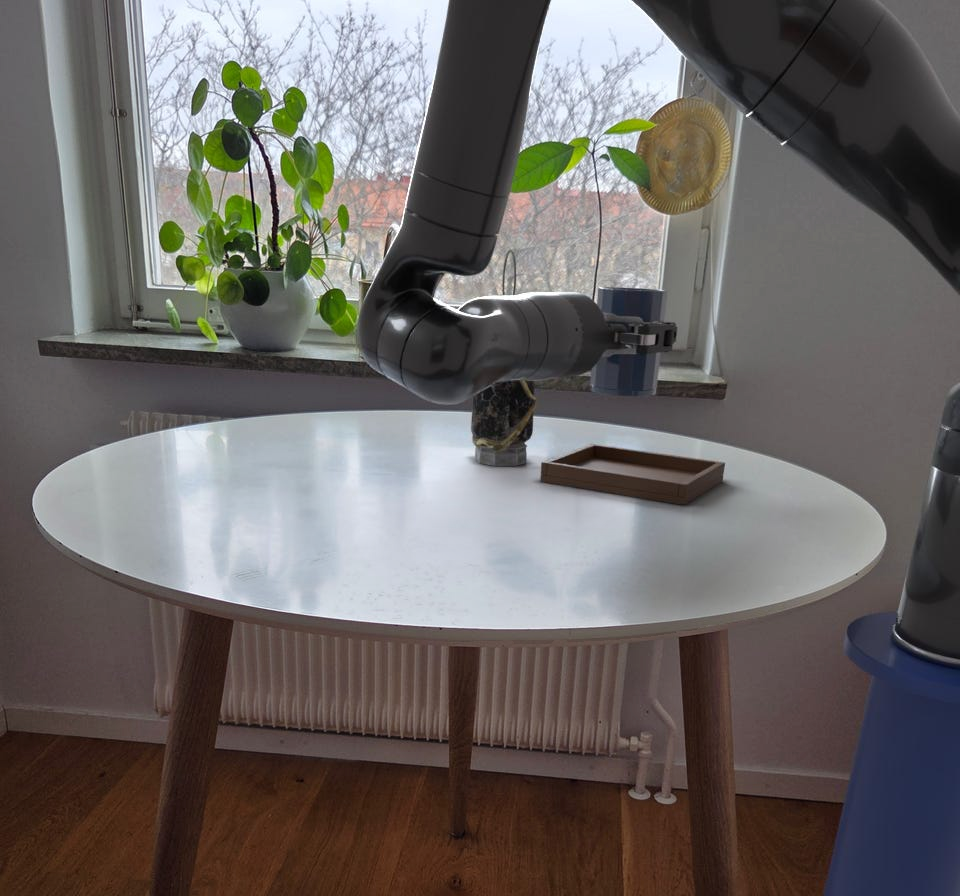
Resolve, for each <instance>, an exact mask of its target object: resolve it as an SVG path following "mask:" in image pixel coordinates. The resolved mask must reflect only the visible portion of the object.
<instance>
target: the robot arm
mask: <svg viewBox="0 0 960 896" xmlns="http://www.w3.org/2000/svg"><path fill="white" fill-rule="evenodd" d="M629 1H630V2H631V3H633V4H634V5H635V6H636V7H637V8H638V9H639V10H641V12H643V14H645V15H646V16H647V18H648V19H649V20H650V21H651V22H652V23H653V24H654V25H655V27H656V28H658V29H659V30H660V32H661V33H662V34H663V35H664V36H665V37H666V38H667V39H668V41H669V42H670V43H671V44H672V45H673V46H674V47H675V48H676V50H677V51H678V52H679V53H680V54H681V55H682V56H683V57H684V59H686V60H687V61H688V62H689V63H690V64H691V65H692V67H693V68H695V70H696V71H698V73H699V74H700V75H701V76H702V77H703V78H704V79H705V80H706V81H707V82H708V83H709V84H710V85H711V86H712V87H714V89H716V91H718V92H719V94H721V95H722V96H723V97H724V98H725V99H726V100H727V101H728V102H729V103H730V104H731V105H733V107H735V108H736V109H737V110H738V111H739V112H740V113H741V114H742V115H745V117H746V118H748V119H749V120H750V121H751V122H752V123H753V124H754V125H756V126H757V127H758V128H759V129H760V130H762V131H763V132H764V133H766V134H767V135H768V136H769V137H770V138H772V139H773V140H774V141H775V142H776V143H777V144H780V146H781V147H782V148H783V149H785V150H787V151H788V153H791V154H792V155H793V156H794V157H796V158H797V159H799V160H800V161H802V162H803V163H804V164H805V165H807V166H808V167H810V168H811V169H812V170H814V171H815V172H816V173H817V174H819V175H820V176H821V177H823V178H824V179H825V180H827V181H828V182H829V183H831V184H832V185H833V186H835V187H836V188H838V189H839V190H840V191H842V192H843V193H844V194H846V195H848V196H849V197H851V198H852V199H854V200H855V201H856V202H858V203H859V204H861V205H863V207H865V208H867V209H868V210H870V211H871V212H873V213H874V214H876V215H877V216H879V217H880V218H881V219H882V220H884V221H885V222H886V223H888V224H889V225H890V226H891V227H893V228H894V229H895V230H896V231H897V232H898V233H899V234H900V235H901V236H902V237H903V238H904V239H905V240H906V241H908V243H910V244H911V246H912V247H913V248H914V249H915V250H916V252H918V253H919V254H920V255H921V256H922V257H923V258H924V259H925V260H926V262H928V263H929V264H930V266H931V267H932V268H933V269H934V270H935V271H936V272H937V273H938V274H939V275H940V277H942V278H943V280H944V281H945V282H946V283H947V284H948V285H949V286H950V287H951V289H953V290H954V291H955V292H956V293H957V294H958V296H959V297H960V114H959V113H958V112H957V110H956V108H955V107H954V105H953V103H952V102H951V99H950V98H949V96H948V94H947V93H946V91H945V89H944V87H943V85H942V83H941V81H940V79H939V78H938V75H937V74H936V72H935V70H934V68H933V67H932V65H931V63H930V62H929V60H928V58H927V56H926V55H925V53H924V52H923V50H922V48H921V47H920V45H919V44H918V42H917V40H916V39H915V37H914V36H913V35H912V34H911V33H910V31H909V29H907V27H906V26H905V25H904V24H903V23H902V22H901V21H900V20H899V19H898V18H897V17H896V16H895V14H894V13H893V12H892V11H890V9H888V8H887V7H886V6H885V5H884V4H883V3H882V2H881V1H880V0H629ZM551 3H552V0H448V4H447V11H446V17H445V22H444V28H443V33H442V39H441V43H440V48H439V53H438V58H437V63H436V67H435V72H434V76H433V80H432V85H431V90H430V94H429V98H428V103H427V107H426V110H425V111H426V112H425V116H424V119H423V123H422V127H421V132H420V136H419V141H418V145H417V150H416V155H415V159H414V163H413V168H412V172H411V176H410V177H411V178H410V182H409V186H408V191H407V195H406V199H405V206H404V209H403V214H402V219H401V224H400V226H399V229H398V230H397V233H396V235H395V236H394V239H393V241H392V242H391V244H390V245H389V248H388V250H387V252H386V255H385V256H384V258H383V261H382V263H381V265H380V267H379V269H378V271H377V273H376V275H375V277H374V278H373V281H372V282H371V285H370V287H369V289H368V291H367V292H366V295H365V297H364V299H363V302H362V304H361V307H360V310H359V313H358V318H357V328H356V329H357V333H356V335H357V342H358V348H359V351H360V354H361V356H362V358H363V360H364V361H365V363H366V364H367V365H369V366H370V368H371V369H373V370H374V371H376V372H377V373H380V374H381V375H383V376H384V377H386V378H388V379H389V380H391V381H393V382H394V383H396V384H398V385H399V386H401V387H403V388H405V389H406V390H408V391H409V392H411V393H412V394H414V395H416V396H417V397H419V398H420V399H423V400H425V401H427V402H430V403H433V404H438V405H457V404H461V403H464V402H467V401H468V400H470V399H471V398H472V399H473V396H475V395H477V394H478V393H480V392H482V391H483V390H485V389H487V388H489V387H490V386H492V385H493V384H495V383H499V382H507V381H515V380H524V381H534V382H540V381H546V380H547V381H548V380H555V379H561V378H572V377H579V376H581V375H583V374H586V373H588V372H589V371H591V369H592V368H593V367H594V366H595V365H596V364H597V362H598V361H599V359H600V358H601V357H610V356H612V355H613V354H637V353H639V355H645V354H650V353H659V352H661V353H669V352H672V351H673V345H674V343H676V342H677V338H678V337H677V335H678V326H677V324H676V322H674V321H664V322H658V321H653V322H643V321H642V319H641V318H640V317H635V316H616V315H615V314H612V313H602V312H601V310H600V308H599V307H598V305H597V302H595V301H594V300H593V298H591V297H590V296H589V295H586V294H584V293H582V292H577V291H548V292H545V291H543V292H542V291H541V292H539V291H538V292H537V291H536V292H525V293H520V294H515V296H513V295H505V296H503V295H486V296H481V297H475V298H473V299H470V300H467V301H466V302H465V303H463V304H462V305H461V306H460V307H459V308H458V309H456V308H455V307H452V306H450V305H448V304H446V303H444V302H442V301H441V300H438V299H437V298H435V294H436V292H437V291H436V290H437V288H438V286H439V285H440V283H441V281H442V279H443V278H444V277H445V275H446V274H447V275H451V276H461V277H472V276H473V277H474V276H477V275H480V274H481V273H483V272H484V271H485V270H486V269H487V267H488V266H489V265H490V262H491V261H492V257H493V256H494V252H495V249H496V245H497V242H498V238H499V233H500V231H501V227H502V223H503V220H504V216H505V212H506V208H507V205H508V201H509V198H510V197H509V196H510V195H511V190H512V187H513V181H514V178H515V174H516V169H517V165H518V161H519V156H520V151H521V147H522V142H523V137H524V131H525V125H526V119H527V114H528V108H529V101H530V95H531V89H532V83H533V78H534V72H535V67H536V63H537V59H538V53H539V48H540V45H541V41H542V36H543V31H544V28H545V23H546V20H547V17H548V14H549V10H550V6H551ZM619 322H627V323H628V324H629V331H628V332H627V329H626V327H625V326H624V325H623V324H621V323H619ZM626 343H627V345H626V346H625V344H626ZM624 346H625V347H624ZM925 486H926V487H925V491H924V494H923V499H922V504H921V508H920V512H919V517H918V522H917V526H916V530H915V534H914V539H913V543H912V548H911V552H910V556H909V561H908V564H907V565H908V566H907V570H906V574H905V578H904V583H903V587H902V592H901V596H900V602H899V605H898V609H897V611H896V612H897V615H896V622H895V624H894V626H893V630H892V634H891V639H892V641H893V643H894V644H895V645H896V646H897V647H898V648H900V649H901V650H903V651H904V652H906V653H908V654H910V655H912V656H914V657H916V658H919V659H922V660H924V661H927V662H930V663H933V664H937V665H940V666H944V667H949V668H953V669H959V670H960V381H958V382H957V383H955V384H954V385H953V386H952V387H951V388H950V389H949V391H948V393H947V396H946V399H945V403H944V406H943V412H942V416H941V420H940V425H939V429H938V433H937V437H936V441H935V446H934V451H933V455H932V459H931V464H930V469H929V473H928V477H927V482H926V485H925Z"/></svg>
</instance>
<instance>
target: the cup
mask: <svg viewBox="0 0 960 896" xmlns="http://www.w3.org/2000/svg"><path fill="white" fill-rule="evenodd" d="M667 297H668V290H665V289H655V288H640V287H620V286H619V287H615V286H598V288H597V300H596V304H597V305H598V307H599V308H600V310H601V312H602V313H612V314H615V315H616V316H635V317H640V318H641V319H642V321H643V322H653V321H658V322H665V317H666V316H665V315H666V308H667V300H668V299H667ZM619 323H621V324H623V325H624V326H625V327H626V329H627V332H628V331H629V324H628V323H627V322H619ZM626 345H627V343H626V344H625V346H626ZM625 346H624V347H625ZM661 353H662V352H659V353H650V354H645V355H639V353H637V354H613V355H612V356H610V357H601V358H600V359H599V361H598V362H597V364H596V365H595V366H594V367H593V368H592V369H591V370H590V372H591V373H590V384H589V390H590V391H591V392H593V393H596V394H600V395H608V396H615V397H616V396H617V397H635V398H636V397H652V396H655V395H656V393H657V388H658V381H659V380H658V379H659V371H660V361H661Z"/></svg>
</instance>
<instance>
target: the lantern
mask: <svg viewBox="0 0 960 896" xmlns="http://www.w3.org/2000/svg"><path fill="white" fill-rule="evenodd" d="M510 253H511V256H512V262H513V288H512V296H516V289H517V288H516V287H517V262H516V261H517V260H516V255H515V252H514V250H512V249H509V250H508V251H506V254H505V258H504V262H503V269H502V281H501V282H502V285H501V287H502V296H506V295H505V294H506V293H505V277H506V268H507V262H508V258H509V255H510ZM536 407H537V397H535V381H524V380H515V381H507V382H499V383H495V384H493V385H492V386H490V387H489V388H487V389H485V390H483V391H482V392H480V393H478V394H477V395H475V396H473V397H472V405H471V420H470V431H471V434H472V440H471V442H472V444H473V445H474V446H475V449H474V450H475V451H474V459H475V460H476V461H477V462H478V463H479V464H483V465H488V466H494V467H517V466H520V465H525V464H527V455H528V454H527V447H528V445H527V444H526V443H527V441H529V440H530V439H531V437H533V431H534V411H535V409H536Z"/></svg>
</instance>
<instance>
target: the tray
mask: <svg viewBox="0 0 960 896" xmlns="http://www.w3.org/2000/svg"><path fill="white" fill-rule="evenodd" d="M540 465H541V466H540V480H539V481H540V482H541V483H548V484H553V485H558V486H559V485H560V486H565V487H572V488H577V489H584V490H590V491H596V492H603V493H608V494H614V495H620V496H625V497H632V498H636V499H637V498H639V499H644V500H648V501H649V500H650V501H656V502H662V503H668V504H674V505H680V506H686V505H687V504H689V503H690V502H691V501H693V500H695V499H696V498H698V497H700V496H701V495H703V494H704V493H706V492H708V491H709V490H711V489H713V487H715V486H717V485H719V484H720V483H722V482H723V481H724V474H725V467H726V462H723V461H716V460H709V459H702V458H696V457H690V456H689V457H688V456H681V455H674V454H665V453H659V452H652V451H647V450H646V451H645V450H639V449H632V448H624V447H619V446H618V447H617V446H612V445H611V446H609V445H603V444H596V443H590V444H588V445H587V444H586V445H584V446H582V447H579V448H577V449H574V450H570V451H568V452H566V453H563V454H560V455H557V456H555V457H552V458H549V459H547V460H544V461H542V462H541V464H540Z"/></svg>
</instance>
